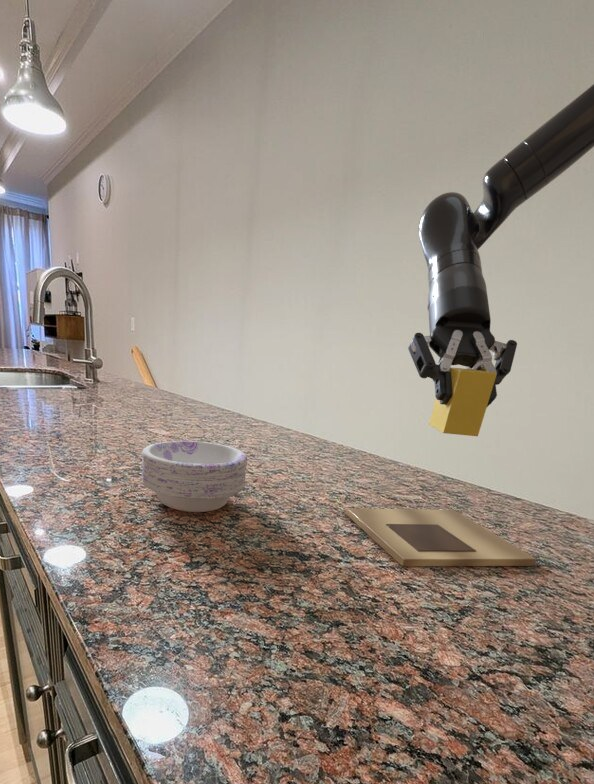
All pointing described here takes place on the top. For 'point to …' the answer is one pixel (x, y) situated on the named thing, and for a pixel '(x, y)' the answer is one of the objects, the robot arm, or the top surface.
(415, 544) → the board
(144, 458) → the paper bowls
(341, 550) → the top surface
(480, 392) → the yellow block
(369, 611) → the top surface
